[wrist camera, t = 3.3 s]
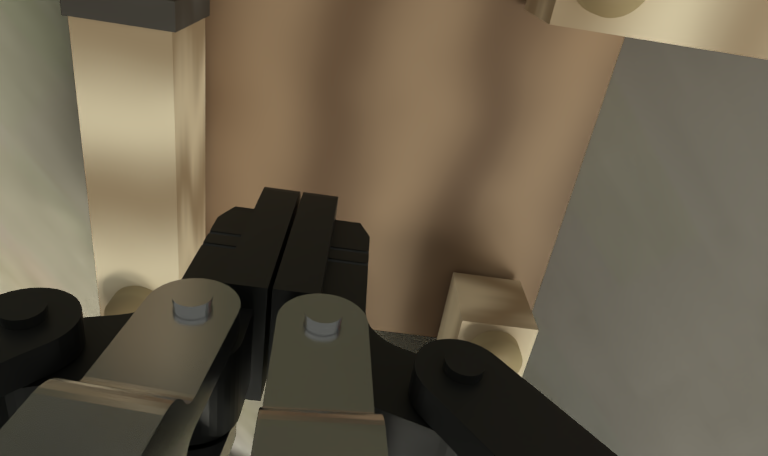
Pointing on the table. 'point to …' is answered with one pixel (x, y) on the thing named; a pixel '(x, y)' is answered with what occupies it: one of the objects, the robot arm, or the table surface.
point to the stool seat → (434, 133)
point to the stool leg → (141, 139)
